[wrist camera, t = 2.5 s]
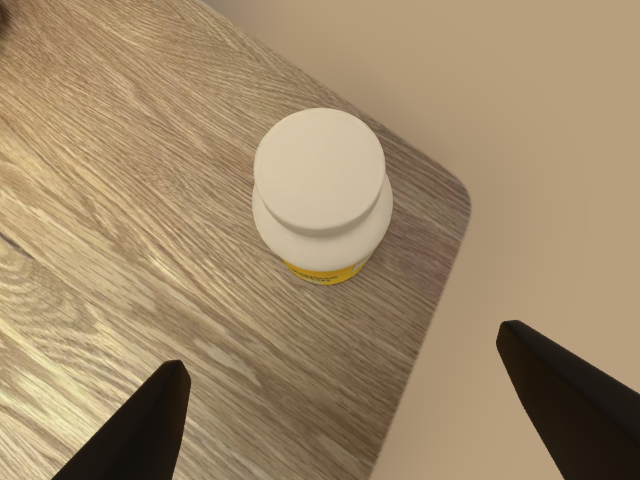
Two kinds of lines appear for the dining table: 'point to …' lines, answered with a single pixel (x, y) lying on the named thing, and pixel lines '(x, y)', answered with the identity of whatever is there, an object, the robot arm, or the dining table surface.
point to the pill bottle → (321, 194)
